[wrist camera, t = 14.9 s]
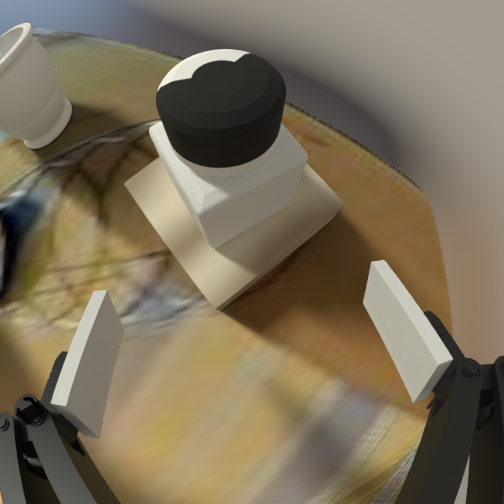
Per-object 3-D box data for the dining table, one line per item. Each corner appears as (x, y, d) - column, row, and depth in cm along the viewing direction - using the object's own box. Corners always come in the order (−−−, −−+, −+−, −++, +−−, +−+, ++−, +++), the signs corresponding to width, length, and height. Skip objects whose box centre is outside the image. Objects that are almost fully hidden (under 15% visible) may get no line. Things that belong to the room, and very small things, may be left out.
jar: (12, 137, 30) (-44, 80, 15) (60, 86, 31) (17, 18, 17) (36, 170, 28) (-37, 105, 14) (92, 110, 30) (42, 26, 16)
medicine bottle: (292, 204, 23) (333, 98, 11) (212, 251, 22) (179, 170, 10) (244, 139, 24) (246, 23, 13) (169, 178, 23) (121, 72, 11)
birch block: (141, 204, 28) (123, 183, 23) (243, 133, 30) (243, 103, 25) (220, 311, 26) (215, 309, 21) (328, 223, 28) (344, 204, 23)
